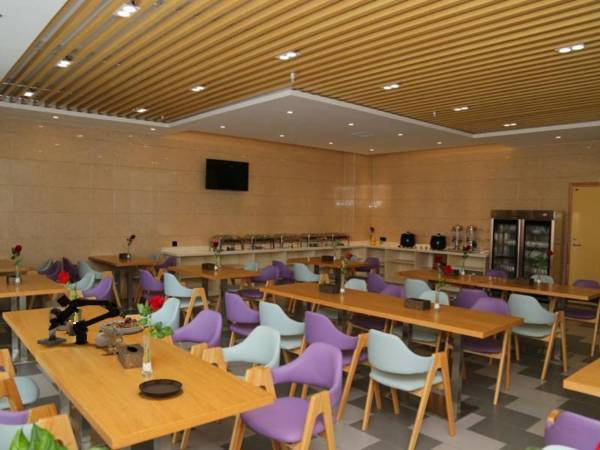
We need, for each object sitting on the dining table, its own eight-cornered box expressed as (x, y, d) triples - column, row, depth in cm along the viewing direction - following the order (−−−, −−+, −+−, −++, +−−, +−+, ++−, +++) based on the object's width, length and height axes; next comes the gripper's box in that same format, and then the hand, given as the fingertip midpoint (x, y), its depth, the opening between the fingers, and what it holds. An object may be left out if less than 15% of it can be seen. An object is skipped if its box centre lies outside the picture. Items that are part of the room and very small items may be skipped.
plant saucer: (186, 385, 257) (186, 378, 257) (177, 400, 236) (177, 393, 236) (144, 384, 256) (145, 377, 256) (132, 399, 235) (133, 392, 235)
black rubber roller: (78, 334, 351) (78, 324, 350) (73, 336, 346) (73, 326, 346) (73, 334, 352) (73, 324, 352) (68, 335, 348) (68, 325, 348)
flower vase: (95, 358, 320) (110, 356, 302) (87, 329, 321) (102, 326, 303) (114, 351, 329) (130, 349, 311) (107, 323, 330) (122, 320, 312)
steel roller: (57, 339, 330) (57, 321, 330) (53, 341, 326) (53, 322, 326) (51, 339, 331) (51, 320, 330) (47, 340, 327) (47, 322, 326)
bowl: (135, 336, 352) (135, 325, 352) (92, 335, 353) (92, 323, 353) (148, 327, 382) (149, 316, 382) (109, 325, 383) (109, 315, 383)
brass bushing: (73, 332, 356) (74, 320, 356) (69, 333, 352) (69, 321, 352) (69, 332, 357) (69, 319, 357) (64, 333, 354) (65, 320, 354)
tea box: (61, 331, 360) (62, 310, 359) (54, 328, 366) (54, 308, 366) (81, 327, 372) (82, 307, 371) (74, 325, 378) (74, 305, 377)
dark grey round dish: (66, 341, 332) (66, 338, 332) (51, 345, 321) (51, 342, 321) (53, 339, 336) (53, 336, 336) (37, 343, 325) (37, 340, 325)
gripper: (65, 301, 337) (48, 317, 337) (52, 306, 319) (34, 323, 319) (77, 313, 338) (59, 329, 338) (65, 318, 319) (47, 336, 319)
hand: (50, 329), depth 328 cm, fingers closed on steel roller, 4 cm apart
